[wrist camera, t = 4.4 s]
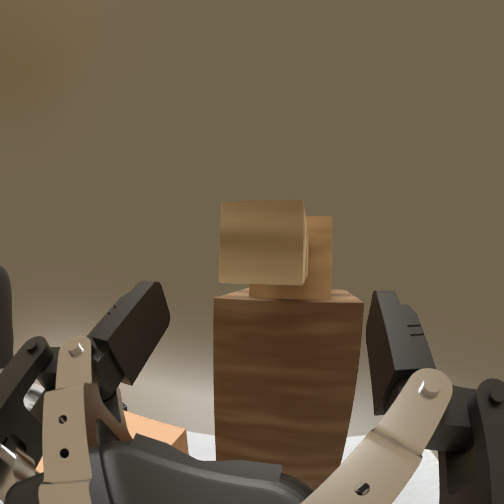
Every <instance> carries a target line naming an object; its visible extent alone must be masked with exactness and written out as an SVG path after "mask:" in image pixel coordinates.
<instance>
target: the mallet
mask: <svg viewBox="0 0 504 504" xmlns="http://www.w3.org/2000/svg"><path fill="white" fill-rule="evenodd" d="M331 279H332V217H331V216H330V217H329V216H327V217H326V216H305V211H304V204H303V200H268V201H267V200H266V201H265V200H264V201H230V202H222V207H221V231H220V264H219V283H238V284H249V297H255V298H280V299H316V300H331V281H332V280H331Z"/></svg>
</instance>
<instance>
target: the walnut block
mask: <svg viewBox="0 0 504 504" xmlns="http://www.w3.org/2000/svg"><path fill="white" fill-rule="evenodd" d="M363 312H364V302H362V301H361V300H359V299H358V298H356V297H354V296H353V295H351V294H350V293H349V292H347V291H345V290H333V289H331V300H316V299H280V298H255V297H249V288H247V289H243V290H240V291H236V292H233V293H229V294H226V295H222V296H219V297H215V298H214V318H213V321H214V322H213V323H214V324H213V330H214V331H213V332H214V333H213V337H214V338H213V339H214V340H213V357H214V359H213V361H214V363H213V364H214V416H215V445H216V461H232V460H245V461H252V462H260V463H268V464H278V465H282V473H285V474H288V475H291V476H293V477H295V478H298V479H300V480H302V481H303V482H305V483H307V484H308V485H310V486H311V487H312V488H314V489H315V490H316V489H317V488H318V487H319V486H320V485H321V484H322V483H323V482H324V481H325V480H327V479H328V478H329V477H330V476H331V475H332V473H333V472H334V471H335V470H336V469H337V468H338V467H339V466H340V464H341V460H342V456H343V451H344V447H345V443H346V438H347V433H348V428H349V423H350V418H351V412H352V406H353V401H354V394H355V387H356V381H357V373H358V366H359V357H360V347H361V337H362V325H363Z"/></svg>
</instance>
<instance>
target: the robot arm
mask: <svg viewBox="0 0 504 504" xmlns="http://www.w3.org/2000/svg"><path fill="white" fill-rule="evenodd" d="M169 322H170V313H169V309H168V306H167V303H166V299H165V296H164V293H163V290H162V286H161V284H160V283H159V282H154V281H140V282H139V283H138V284H137V285H136V286H135V287H134V288H133V289H132V291H131V292H129V293H127V294H126V295H124V296H123V297H121V298H120V299H119V300H118V301H117V302H116V303H115V304H114V305H113V308H111V309H110V310H109V311H108V313H107V314H106V315H105V316H104V317H103V318H102V319H101V320H100V321H99V323H98V324H97V325H96V326H95V327H94V328H93V330H92V331H91V332H90V333H89V334H88V335H87V337H86V336H76V337H72V338H70V339H69V340H67V341H66V342H65V343H64V344H63V345H62V346H61V347H50V346H49V344H48V343H47V341H46V339H45V338H44V337H41V336H38V337H34V338H31V339H29V340H28V341H27V342H26V343H25V344H24V345H23V346H22V347H21V348H20V349H19V351H18V352H17V353H16V354H15V356H14V357H13V327H12V294H11V284H10V280H9V276H8V274H7V272H6V270H5V269H4V268H3V267H2V266H0V499H1V500H2V501H3V502H4V504H392V503H393V501H394V500H395V499H396V498H397V496H398V495H399V494H400V492H401V491H402V489H403V488H404V487H405V485H406V484H407V482H408V481H409V480H410V478H411V477H412V475H413V474H414V472H415V471H416V469H417V467H418V466H419V464H420V462H421V460H422V456H421V455H422V453H423V451H424V449H429V450H437V451H438V458H439V483H440V499H439V504H504V382H502V381H500V380H498V379H487V380H485V381H483V382H482V383H481V384H480V385H479V387H478V388H477V389H469V388H462V387H457V386H453V385H452V383H451V382H450V380H449V378H448V377H447V376H446V375H445V374H444V373H442V372H441V371H439V370H436V367H435V364H434V361H433V358H432V355H431V352H430V349H429V346H428V343H427V340H426V338H425V336H424V332H423V329H422V327H421V324H420V321H419V319H418V316H417V314H416V313H415V312H414V311H413V309H412V308H411V307H410V306H409V305H400V303H399V300H398V297H397V295H396V292H395V291H374V292H373V295H372V300H371V306H370V311H369V316H368V321H367V326H366V344H367V350H368V358H369V366H370V374H371V384H372V394H373V404H374V415H384V417H383V418H382V419H381V421H380V422H379V423H378V425H377V426H376V427H375V428H374V429H373V430H371V431H370V432H369V433H368V434H367V436H366V437H365V438H364V439H363V440H362V442H361V443H360V444H359V445H358V446H357V447H356V449H355V450H354V451H353V452H352V453H351V454H350V455H349V456H348V458H347V459H346V460H345V461H344V462H343V463H342V464H341V465H340V466H339V467H338V468H337V469H336V470H335V471H334V472H333V473H332V475H331V476H330V477H329V478H328V479H327V480H325V481H324V482H323V483H322V484H321V485H320V486H319V487H318V488H317V489H316V490H315V489H314V488H312V487H311V486H310V485H308V484H307V483H305V482H303V481H302V480H300V479H298V478H295V477H293V476H291V475H288V474H285V473H282V465H278V464H268V463H260V462H252V461H245V460H232V461H200V460H197V459H195V458H193V457H191V456H189V455H187V454H185V453H184V452H182V451H180V450H178V449H176V448H175V447H173V446H171V445H169V444H168V443H165V442H162V441H159V440H156V439H153V438H150V437H147V436H144V435H141V434H138V433H136V434H135V436H134V438H133V439H132V437H131V435H130V433H129V431H128V428H127V424H126V419H125V414H124V409H123V404H122V398H121V392H120V389H119V388H118V386H119V384H120V382H122V383H125V384H128V385H131V386H132V385H133V383H134V381H135V380H136V378H137V377H138V375H139V373H140V372H141V370H142V368H143V367H144V365H145V363H146V362H147V360H148V358H149V356H150V355H151V353H152V352H153V350H154V349H155V347H156V345H157V344H158V342H159V341H160V339H161V337H162V336H163V334H164V333H165V331H166V329H167V328H168V326H169ZM36 379H37V380H38V381H39V382H40V384H41V385H42V386H43V387H44V389H45V390H44V391H43V393H42V394H41V396H40V397H39V399H38V400H37V402H36V403H35V405H34V406H33V408H32V409H31V411H30V412H29V411H28V410H27V409H26V408H25V406H24V402H23V399H24V396H25V394H26V393H27V391H28V390H29V388H30V387H31V386H32V384H33V383H34V381H35V380H36ZM42 456H43V470H44V472H42V473H40V472H39V471H37V470H36V468H37V466H38V464H39V462H40V460H41V458H42Z"/></svg>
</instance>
